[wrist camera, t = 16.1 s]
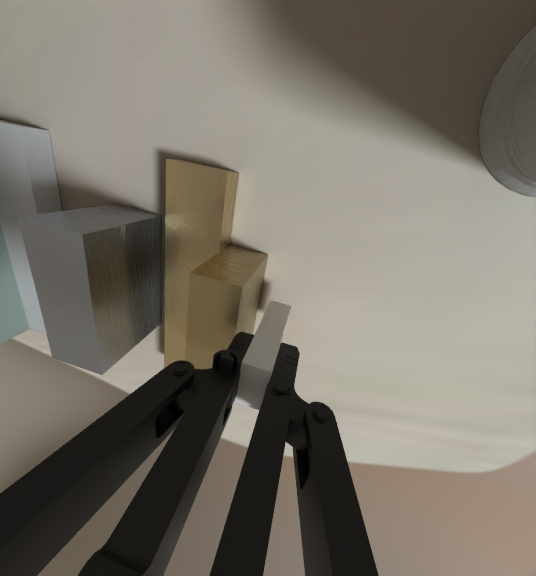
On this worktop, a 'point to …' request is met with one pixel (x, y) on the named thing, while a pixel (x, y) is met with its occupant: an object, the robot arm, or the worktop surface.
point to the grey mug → (512, 120)
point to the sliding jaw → (205, 265)
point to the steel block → (96, 280)
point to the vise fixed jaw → (5, 226)
